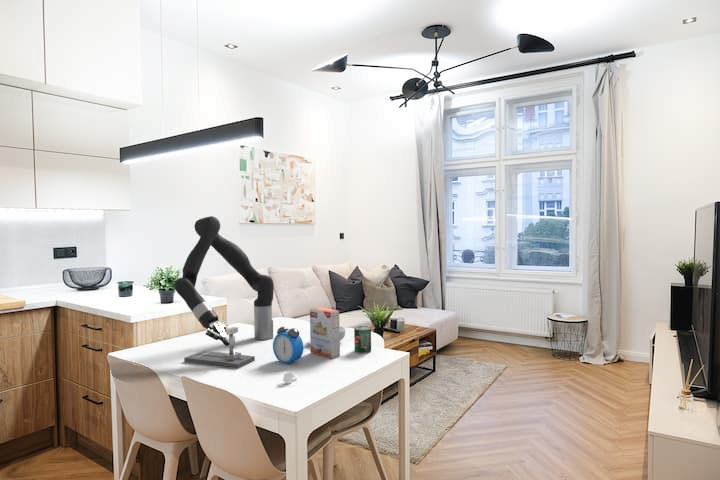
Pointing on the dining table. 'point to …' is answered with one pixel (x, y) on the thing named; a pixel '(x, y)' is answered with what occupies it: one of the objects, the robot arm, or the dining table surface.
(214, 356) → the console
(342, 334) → the cereal bowl
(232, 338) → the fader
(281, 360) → the alarm clock
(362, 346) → the canned tomato
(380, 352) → the dining table surface
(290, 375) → the teacup and saucer
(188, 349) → the dining table surface
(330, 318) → the cracker box
